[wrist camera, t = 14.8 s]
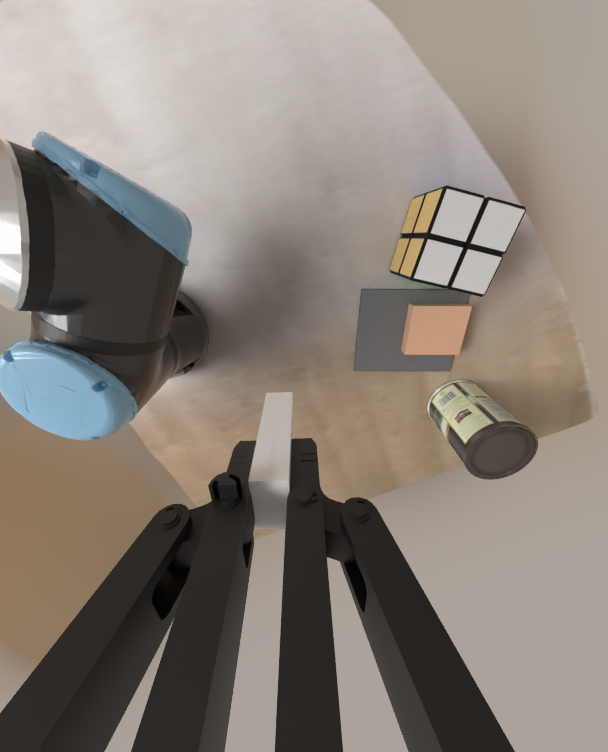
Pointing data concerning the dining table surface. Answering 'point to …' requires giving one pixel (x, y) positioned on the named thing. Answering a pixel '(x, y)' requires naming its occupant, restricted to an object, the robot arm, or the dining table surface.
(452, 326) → the tile
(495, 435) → the coffee can
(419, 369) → the mat
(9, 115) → the dining table surface
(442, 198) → the puzzle cube
